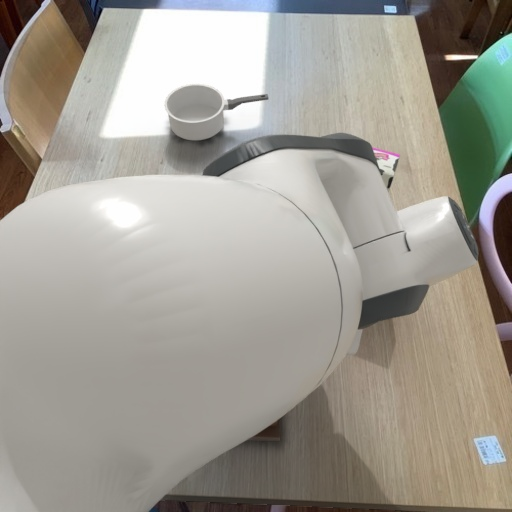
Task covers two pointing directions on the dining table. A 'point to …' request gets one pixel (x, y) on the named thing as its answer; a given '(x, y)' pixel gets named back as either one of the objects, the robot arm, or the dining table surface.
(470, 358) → the dining table surface
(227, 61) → the dining table surface
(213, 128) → the saucepan
